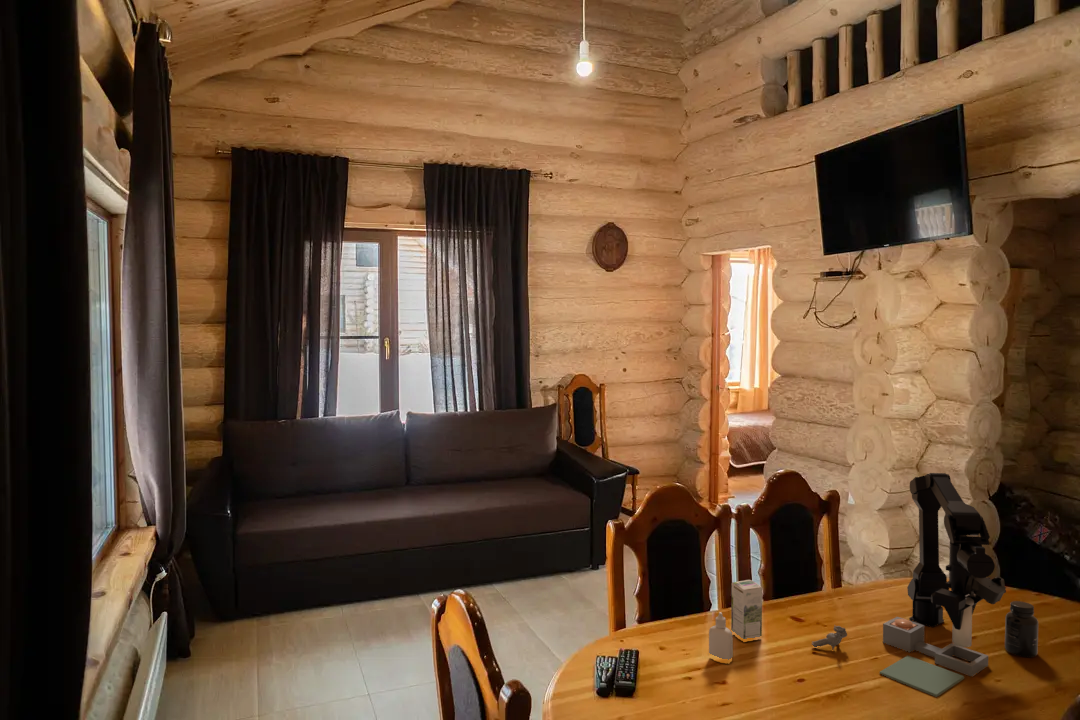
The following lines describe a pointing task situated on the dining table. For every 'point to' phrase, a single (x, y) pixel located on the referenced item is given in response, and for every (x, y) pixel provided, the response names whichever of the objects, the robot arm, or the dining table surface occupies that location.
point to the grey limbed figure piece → (832, 638)
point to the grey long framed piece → (934, 649)
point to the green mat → (922, 675)
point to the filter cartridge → (964, 627)
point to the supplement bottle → (1021, 630)
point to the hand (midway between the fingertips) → (962, 626)
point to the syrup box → (746, 609)
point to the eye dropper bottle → (720, 639)
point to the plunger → (903, 624)
